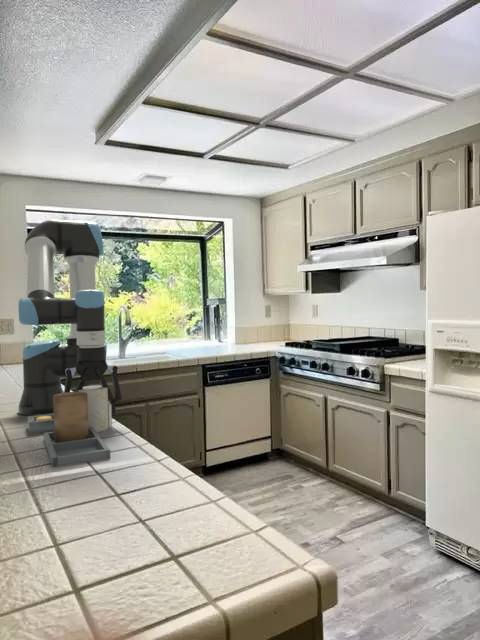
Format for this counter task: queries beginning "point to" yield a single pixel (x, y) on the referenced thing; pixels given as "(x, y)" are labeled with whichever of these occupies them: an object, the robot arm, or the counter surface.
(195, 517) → the counter surface
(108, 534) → the counter surface
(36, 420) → the button
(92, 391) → the white stubby cylinder
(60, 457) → the grey divided tray
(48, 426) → the grey square holder
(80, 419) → the ball
